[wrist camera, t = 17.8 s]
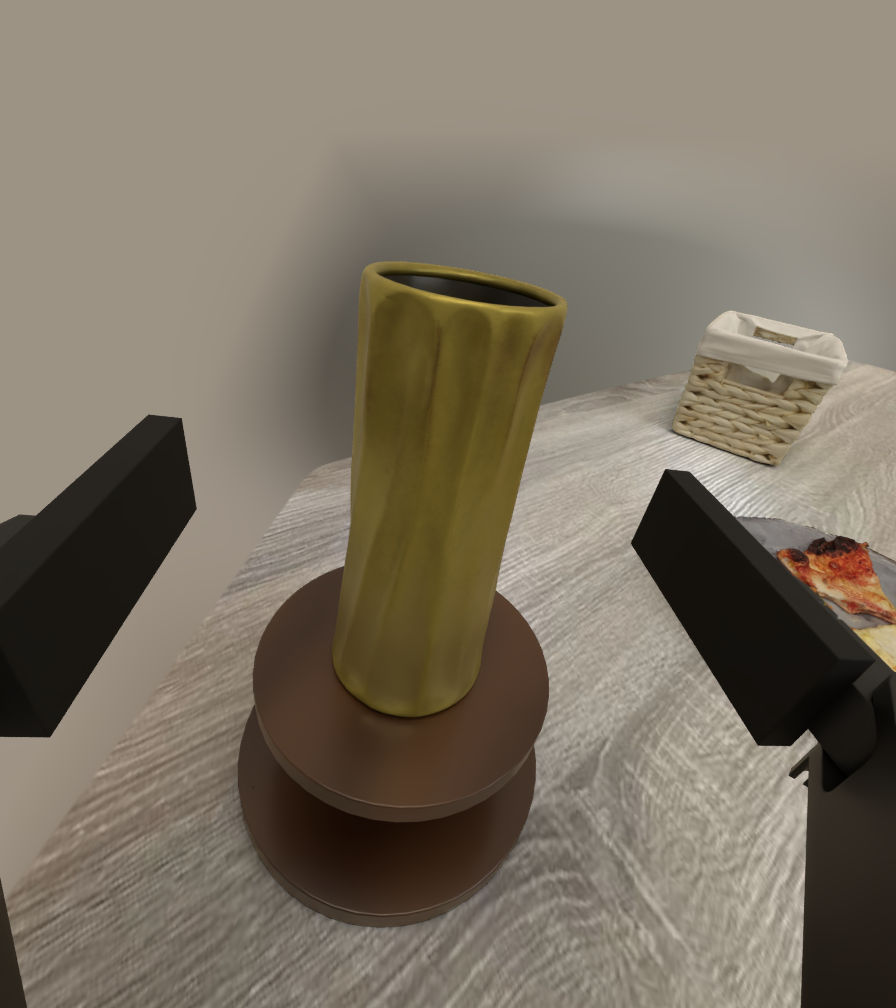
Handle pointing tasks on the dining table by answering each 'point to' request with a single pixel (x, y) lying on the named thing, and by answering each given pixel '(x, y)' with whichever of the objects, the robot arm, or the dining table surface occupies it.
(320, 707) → the stand
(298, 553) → the dining table surface
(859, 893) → the robot arm
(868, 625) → the food plate
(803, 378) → the basket
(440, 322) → the vase
